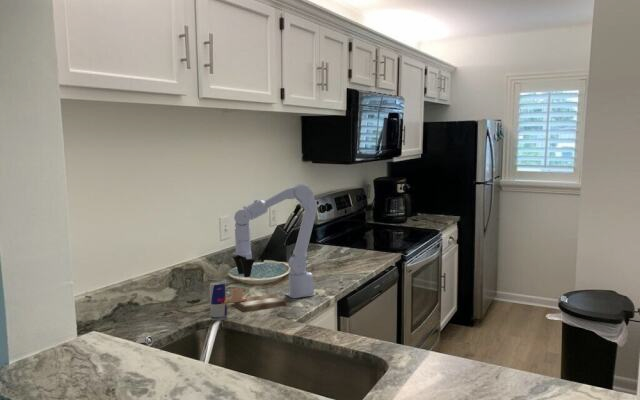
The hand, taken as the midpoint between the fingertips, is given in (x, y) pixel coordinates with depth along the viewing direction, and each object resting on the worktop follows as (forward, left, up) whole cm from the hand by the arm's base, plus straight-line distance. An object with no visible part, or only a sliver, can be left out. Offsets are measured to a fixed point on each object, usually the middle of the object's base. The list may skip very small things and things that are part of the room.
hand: (244, 275), depth 191 cm
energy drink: (+16, +22, -10) cm, 29 cm away
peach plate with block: (+5, +8, -8) cm, 12 cm away
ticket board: (-2, +11, -9) cm, 15 cm away
